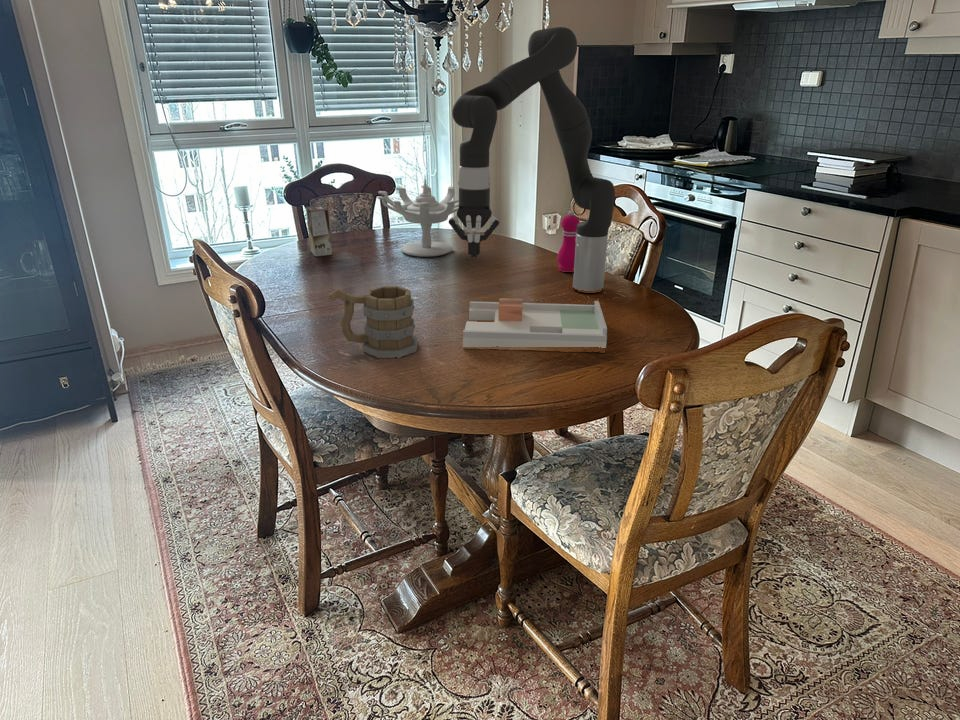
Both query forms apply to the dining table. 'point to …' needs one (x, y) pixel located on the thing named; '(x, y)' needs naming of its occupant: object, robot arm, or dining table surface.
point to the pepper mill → (568, 242)
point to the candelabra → (423, 218)
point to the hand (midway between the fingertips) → (473, 256)
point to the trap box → (537, 326)
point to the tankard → (381, 321)
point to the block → (510, 309)
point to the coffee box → (319, 230)
